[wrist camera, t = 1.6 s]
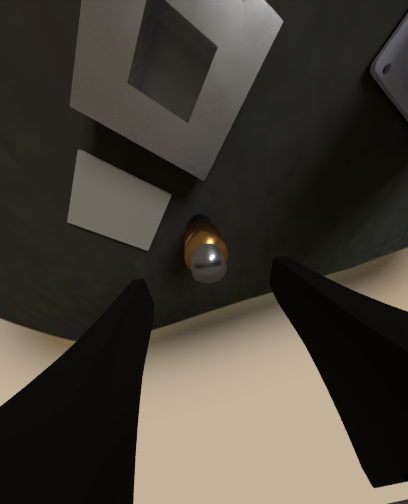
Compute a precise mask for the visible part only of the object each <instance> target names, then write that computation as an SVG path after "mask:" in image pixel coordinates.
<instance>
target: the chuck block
mask: <svg viewBox="0 0 408 504" xmlns="http://www.w3.org/2000/svg"><path fill="white" fill-rule="evenodd" d="M282 23H283V20H282V19H281V18H280V17H279V15H278V14H277V13H276V12H275V11H274V10H273V9H272V8H271V7H270V5H269V4H268V3H267V2H266V1H265V0H82V2H81V11H80V20H79V28H78V37H77V46H76V55H75V63H74V72H73V81H72V90H71V99H70V106H71V107H72V108H74V109H76V110H78V111H79V112H81V113H83V114H85V115H87V116H88V117H90V118H92V119H94V120H96V121H97V122H99V123H101V124H103V125H105V126H106V127H108V128H110V129H112V130H113V131H115V132H117V133H119V134H121V135H122V136H124V137H126V138H128V139H130V140H131V141H133V142H135V143H137V144H139V145H140V146H142V147H144V148H146V149H147V150H149V151H151V152H153V153H155V154H156V155H158V156H160V157H162V158H164V159H165V160H167V161H169V162H171V163H173V164H174V165H176V166H178V167H180V168H181V169H183V170H185V171H187V172H189V173H190V174H192V175H194V176H196V177H198V178H199V179H201V180H203V181H205V179H206V177H207V175H208V173H209V171H210V169H211V167H212V165H213V163H214V161H215V159H216V157H217V155H218V153H219V151H220V149H221V147H222V144H223V142H224V140H225V138H226V136H227V134H228V132H229V130H230V128H231V126H232V124H233V122H234V120H235V118H236V116H237V114H238V112H239V110H240V108H241V106H242V104H243V102H244V100H245V98H246V96H247V94H248V92H249V90H250V88H251V86H252V84H253V82H254V80H255V78H256V75H257V73H258V71H259V69H260V67H261V65H262V63H263V61H264V59H265V57H266V55H267V53H268V51H269V49H270V47H271V45H272V43H273V41H274V39H275V37H276V35H277V33H278V31H279V29H280V27H281V25H282Z"/></svg>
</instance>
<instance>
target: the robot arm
mask: <svg viewBox="0 0 408 504" xmlns="http://www.w3.org/2000/svg"><path fill="white" fill-rule="evenodd" d="M384 67H385V72H384V73H383V69H384ZM370 73H371V76H372V77H373V78H374V79H375V81H376V82H377V83H378V84H379V86H380V87H381V88H382V90H383V91H384V92H385V93H386V95H387V96H388V97H389V98H390V100H391V101H392V102H393V104H394V105H395V106H396V107H397V109H398V110H399V111H400V112H401V114H402V115H403V116H404V118H405V119H406V120H407V121H408V13H407V15H406V16H405V17H404V19H403V20H402V22H401V23H400V24H399V26H398V27H397V29H396V30H395V31H394V33H393V34H392V36H391V37H390V38H389V40H388V41H387V43H386V44H385V45H384V47H383V48H382V50H381V51H380V52H379V54H378V55H377V57H376V58H375V59H374V61H373V63H372V65H371V68H370ZM270 287H271V289H272V291H273V293H274V295H275V297H276V299H277V301H278V303H279V305H280V306H281V308H282V309H283V311H284V312H285V314H286V316H287V317H288V319H289V320H290V322H291V323H292V325H293V327H294V328H295V329H296V331H297V332H298V334H299V336H300V338H301V339H302V341H303V343H304V344H305V346H306V348H307V350H308V352H309V353H310V355H311V357H312V359H313V361H314V363H315V365H316V367H317V369H318V371H319V373H320V375H321V377H322V379H323V381H324V383H325V385H326V387H327V389H328V391H329V394H330V396H331V398H332V400H333V402H334V404H335V407H336V409H337V411H338V413H339V415H340V417H341V420H342V422H343V424H344V426H345V429H346V431H347V433H348V436H349V438H350V440H351V442H352V445H353V447H354V450H355V452H356V454H357V457H358V459H359V462H360V464H361V467H362V469H363V470H364V472H365V474H366V476H367V477H368V479H369V481H370V483H371V485H372V486H373V487H374V488H377V487H382V486H387V485H392V484H397V483H402V482H407V481H408V312H407V311H404V310H401V309H399V308H396V307H393V306H390V305H388V304H385V303H382V302H380V301H377V300H375V299H372V298H370V297H367V296H365V295H363V294H360V293H358V292H356V291H353V290H351V289H349V288H347V287H344V286H342V285H340V284H338V283H336V282H334V281H332V280H330V279H328V278H326V277H324V276H322V275H320V274H318V273H316V272H314V271H312V270H310V269H308V268H306V267H305V266H303V265H301V264H299V263H297V262H295V261H293V260H291V259H289V258H287V257H285V256H281V257H275V258H273V263H272V271H271V279H270ZM153 314H154V303H153V300H152V298H151V295H150V293H149V290H148V288H147V285H146V283H145V280H144V278H143V279H137V280H132V281H131V282H130V284H129V285H128V286H127V287H126V288H125V289H124V291H123V292H122V293H121V294H120V295H119V296H118V298H117V299H116V300H115V301H114V302H113V303H112V304H111V306H110V307H109V308H108V309H107V310H106V311H105V312H104V314H103V315H102V316H101V317H100V318H99V319H98V320H97V321H96V322H95V323H94V324H93V325H92V326H91V327H90V328H89V330H88V331H87V332H86V333H85V334H84V335H83V336H82V337H81V338H80V339H79V340H78V341H77V342H76V343H75V344H73V345H72V346H71V347H70V348H69V349H68V350H67V351H66V352H65V353H64V354H63V355H62V356H61V357H59V358H58V359H57V360H56V361H55V362H54V363H53V364H51V365H50V366H49V367H48V368H47V369H45V370H44V371H43V372H42V373H41V374H40V375H38V376H37V377H36V378H35V379H34V380H33V381H31V382H30V383H29V384H28V385H27V386H25V388H23V389H22V390H21V391H19V392H18V393H17V394H16V395H14V396H13V397H12V398H11V399H9V400H8V401H7V402H6V403H4V404H3V405H2V406H0V504H133V493H134V474H135V456H136V441H137V427H138V414H139V403H140V394H141V385H142V376H143V370H144V364H145V358H146V354H147V349H148V344H149V339H150V334H151V329H152V323H153ZM389 504H408V499H407V500H403V501H398V502H394V503H389Z"/></svg>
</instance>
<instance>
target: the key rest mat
mask: <svg viewBox="0 0 408 504" xmlns="http://www.w3.org/2000/svg"><path fill="white" fill-rule="evenodd" d="M171 195H172V194H170V193H168V192H166V191H164V190H162V189H159V188H157V187H155V186H153V185H151V184H149V183H147V182H145V181H143V180H141V179H139V178H137V177H135V176H133V175H131V174H129V173H127V172H125V171H123V170H121V169H119V168H117V167H115V166H113V165H111V164H109V163H107V162H105V161H103V160H101V159H99V158H97V157H95V156H93V155H90V154H88V153H86V152H84V151H82V150H78V153H77V160H76V166H75V173H74V180H73V187H72V194H71V201H70V207H69V214H68V221H67V222H68V223H71V224H74V225H76V226H79V227H82V228H85V229H88V230H90V231H93V232H96V233H99V234H102V235H104V236H107V237H110V238H113V239H116V240H118V241H121V242H124V243H127V244H130V245H132V246H135V247H138V248H141V249H144V250H146V251H148V250H149V248H150V245H151V243H152V241H153V238H154V236H155V233H156V231H157V229H158V226H159V224H160V222H161V219H162V217H163V214H164V212H165V210H166V207H167V205H168V203H169V200H170V198H171Z"/></svg>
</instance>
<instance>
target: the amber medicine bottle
mask: <svg viewBox="0 0 408 504" xmlns="http://www.w3.org/2000/svg"><path fill="white" fill-rule="evenodd" d="M184 249H185V262H186V265H187V266H188V268H189V269H190V270H191V272H192V275H193V277H194V278H195V279H196V280H197V281H199V282H202V283H213V282H216V281H218V280H220V279H221V278H222V277H223V276H224V275H225V273H226V270H227V265H226V261H227V259H228V251H227V248H226V246H225V243H224V241H223V239H222V237H221V234H220V232H219V230H218V228H217V227H216V226H215V225H213V224H212V223H211V222H210V220H209V218H208V217H206V216H205V215H201V214H199V215H195V216H193V217H192V218H191V219H190V221H189V223H188V229H187V231H186V233H185V236H184Z"/></svg>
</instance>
